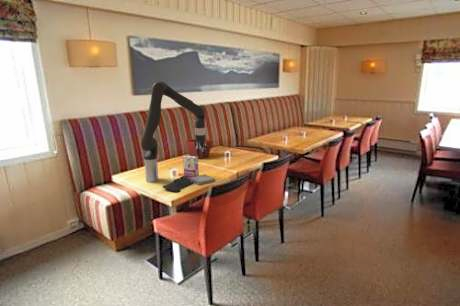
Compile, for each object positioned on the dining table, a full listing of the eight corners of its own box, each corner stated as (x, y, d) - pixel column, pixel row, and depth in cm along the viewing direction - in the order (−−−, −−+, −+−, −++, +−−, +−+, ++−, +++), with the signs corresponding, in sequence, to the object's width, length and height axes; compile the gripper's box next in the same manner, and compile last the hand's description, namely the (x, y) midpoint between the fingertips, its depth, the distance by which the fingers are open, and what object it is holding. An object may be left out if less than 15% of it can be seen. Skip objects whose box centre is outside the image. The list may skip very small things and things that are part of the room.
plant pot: (199, 154, 306) (198, 138, 302) (213, 156, 294) (212, 140, 290) (185, 157, 291) (184, 141, 287) (199, 160, 279) (198, 143, 276)
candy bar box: (199, 176, 231) (198, 156, 227) (195, 178, 226) (194, 158, 223) (187, 175, 236) (186, 155, 232) (183, 176, 232) (182, 156, 228)
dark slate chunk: (159, 189, 206) (158, 182, 205) (179, 180, 225) (179, 174, 223) (176, 193, 199) (175, 186, 197) (195, 183, 217) (195, 177, 216)
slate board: (189, 180, 222) (189, 177, 222) (205, 176, 230) (205, 174, 230) (198, 185, 211) (198, 182, 211) (214, 181, 219) (214, 178, 219)
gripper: (210, 134, 209) (210, 156, 213) (199, 132, 220) (200, 153, 224) (200, 135, 205) (201, 158, 209) (190, 133, 216) (191, 154, 220)
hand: (201, 155), depth 216 cm, fingers open, 8 cm apart
